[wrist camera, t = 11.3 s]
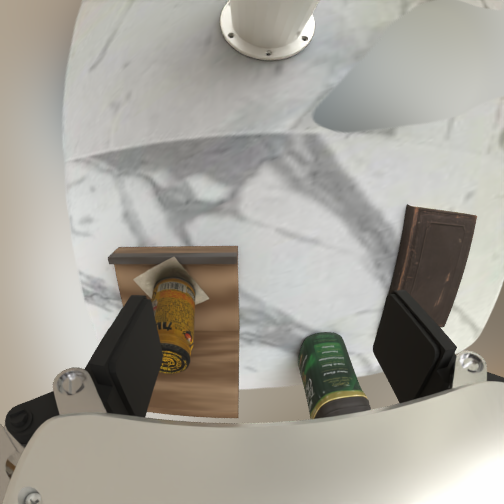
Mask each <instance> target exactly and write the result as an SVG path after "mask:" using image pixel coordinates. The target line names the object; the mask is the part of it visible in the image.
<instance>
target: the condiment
mask: <svg viewBox="0 0 504 504" xmlns="http://www.w3.org/2000/svg"><path fill="white" fill-rule="evenodd" d="M133 280H134V281H135V282H136V284H137V285H139V286H140V288H141V289H142V290H143V291H144V292H145V293H146V294H147V295H148V296H149V297H150V298H151V301H152V306H153V311H154V316H155V321H156V325H157V330H158V334H159V339H160V343H161V347H162V351H163V361H162V364H161V367H160V370H159V372H162V373H167V374H173V373H179V372H182V371H184V370H185V369H187V368H188V366H189V364H190V355H191V350H192V348H193V346H194V327H195V326H194V323H195V305H196V304H199V303H201V302H204V301H206V300H208V299H210V298H209V297H208V296H207V295H206V294H205V292H204V291H203V290H202V289H201V288H200V286H199V285H198V284H197V283H196V282H195V281H194V280H193V278H192V277H191V276H190V275H189V274H188V273H187V271H186V270H185V269H184V268H183V266H182V265H181V264H180V263H179V262H178V261H177V259H176V258H175V257H172V258H170V259H168V260H166V261H164V262H162V263H161V264H158V265H157V266H155V267H153V268H152V269H149V270H148V271H146V272H145V273H143V274H141V275H139V276H138V277H136V278H134V279H133Z"/></svg>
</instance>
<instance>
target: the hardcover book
mask: <svg viewBox="0 0 504 504" xmlns="http://www.w3.org/2000/svg"><path fill="white" fill-rule="evenodd" d="M476 219H477V216H476V215H470V214H464V213H458V212H451V211H444V210H437V209H430V208H422V207H414V206H410V205H407V207H406V214H405V220H404V226H403V231H402V237H401V242H400V247H399V252H398V257H397V261H396V266H395V270H394V274H393V278H392V282H391V286H390V290H389V294H390V293H391V292H392V291H395V290H406V291H407V292H408V293H409V294H410V295H411V296H412V297H413V298H414V300H415V301H416V302H417V303H418V304H419V305H420V306H421V307H422V308H423V309H424V310H425V311H426V312H427V314H428V315H429V316H430V317H431V318H432V319H433V320H434V321H435V322H436V324H437V325H438V326H439V327H444V326H445V324H446V321H447V319H448V316H449V314H450V311H451V308H452V306H453V303H454V300H455V297H456V294H457V291H458V288H459V285H460V282H461V279H462V276H463V272H464V269H465V266H466V262H467V258H468V255H469V251H470V247H471V242H472V238H473V234H474V229H475V224H476ZM389 294H388V295H389Z"/></svg>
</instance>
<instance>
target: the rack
mask: <svg viewBox="0 0 504 504" xmlns="http://www.w3.org/2000/svg"><path fill="white" fill-rule="evenodd" d="M172 257H175V258H176V259H177V261H178V262H179V263H180V264H181V265H182V266H183V268H184V269H185V270H186V271H187V273H188V274H189V275H190V276H191V277H192V278H193V280H194V281H195V282H196V283H197V284H198V285H199V286H200V288H201V289H202V290H203V291H204V292H205V294H206V295H207V296H208V297H209V298H210V299H208V300H206V301H204V302H201V303H199V304H196V305H195V323H194V326H195V327H194V346H193V348H192V350H191V355H190V364H189V366H188V368H187V369H185V370H184V371H182V372H179V373H173V374H167V373H162V372H159V373H158V376H157V380H156V383H155V386H154V389H153V393H152V396H151V399H150V403H149V406H148V409H147V412H153V413H161V414H170V415H181V416H194V417H212V418H238V397H239V292H238V246H180V247H119V248H118V249H116V250H115V251H114V252H113V253H112V254H111V255H110V256H109V257H108V261H109V264H114V266H115V271H116V276H117V281H118V286H119V290H120V295H121V299H122V303H123V307H124V305H125V304H126V302H127V300H128V299H129V297H130V296H131V295H145V296H146V297H147V299H150V300H151V298H150V297H149V296H148V295H147V294H146V293H145V292H144V291H143V290H142V289H141V288H140V286H139V285H137V284H136V282H135V281H134V280H133V279H134V278H136V277H138V276H139V275H141V274H143V273H145V272H146V271H148V270H149V269H152V268H153V267H155V266H157V265H158V264H161V263H162V262H164V261H166V260H168V259H170V258H172Z"/></svg>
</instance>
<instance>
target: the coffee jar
mask: <svg viewBox="0 0 504 504" xmlns="http://www.w3.org/2000/svg"><path fill="white" fill-rule="evenodd" d="M298 365H299V370H300V374H301V377H302V381H303V385H304V389H305V393H306V397H307V402H308V406H309V412H310V418H311V419H318V418H326V417H333V416H340V415H346V414H352V413H358V412H363V411H368V410H371V408H370V405H369V401H368V399H367V397H366V395H365V394H364V393H363V391H362V389H361V387H360V385H359V382H358V380H357V377H356V374H355V372H354V369H353V366H352V363H351V361H350V358H349V355H348V352H347V349H346V346H345V344H344V341H343V339H342V337H341V336H340V335H338V334H336V333H328V332H324V333H317V334H313V335H311V336H309V337H307V338H306V339H305V340H304V342H303V344H302V347H301V350H300V354H299V361H298Z"/></svg>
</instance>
